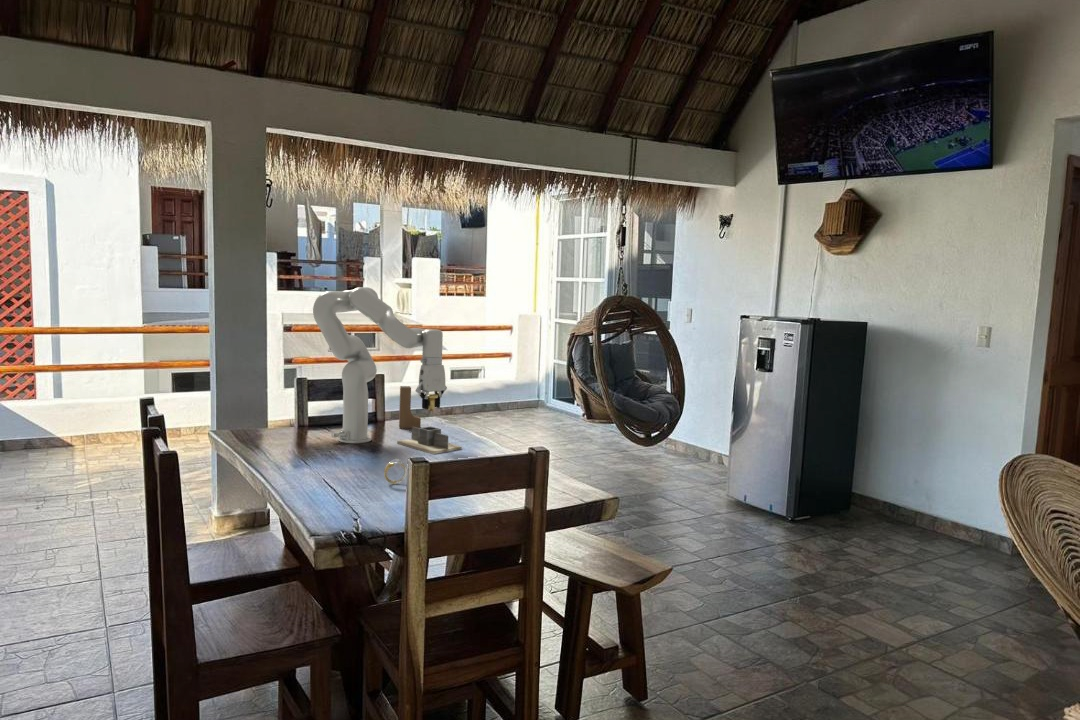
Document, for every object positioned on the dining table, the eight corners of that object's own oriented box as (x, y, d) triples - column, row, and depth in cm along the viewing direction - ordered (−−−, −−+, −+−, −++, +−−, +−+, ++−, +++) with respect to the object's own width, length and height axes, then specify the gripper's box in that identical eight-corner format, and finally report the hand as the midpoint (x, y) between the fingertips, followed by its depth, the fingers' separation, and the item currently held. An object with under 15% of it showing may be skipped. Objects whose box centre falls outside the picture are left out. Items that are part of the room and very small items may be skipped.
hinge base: (433, 454, 269) (433, 435, 268) (397, 443, 283) (397, 425, 283) (461, 449, 279) (462, 431, 279) (425, 439, 294) (425, 422, 293)
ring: (406, 482, 229) (406, 457, 229) (407, 485, 226) (407, 460, 226) (383, 482, 228) (384, 458, 227) (384, 485, 225) (384, 460, 224)
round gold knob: (430, 411, 276) (430, 396, 276) (421, 409, 280) (421, 394, 279) (440, 410, 280) (440, 395, 280) (432, 408, 284) (432, 393, 283)
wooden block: (419, 426, 318) (421, 386, 317) (420, 428, 314) (421, 387, 312) (398, 426, 316) (400, 386, 314) (399, 428, 312) (400, 387, 310)
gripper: (420, 363, 269) (419, 411, 271) (455, 361, 282) (454, 407, 284) (408, 361, 274) (407, 409, 276) (442, 359, 287) (441, 404, 289)
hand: (431, 407), depth 280 cm, fingers closed on round gold knob, 4 cm apart
